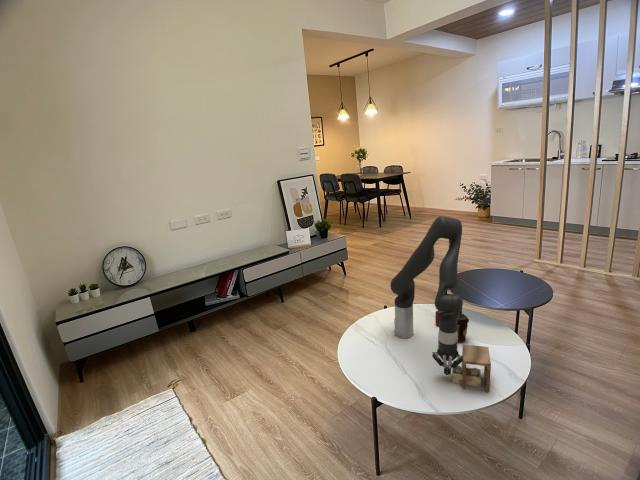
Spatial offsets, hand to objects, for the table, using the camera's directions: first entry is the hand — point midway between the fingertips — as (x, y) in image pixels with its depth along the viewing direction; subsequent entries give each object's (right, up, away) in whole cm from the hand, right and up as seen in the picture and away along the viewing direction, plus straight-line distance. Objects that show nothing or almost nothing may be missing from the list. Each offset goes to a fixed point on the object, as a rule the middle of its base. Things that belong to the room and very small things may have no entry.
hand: (447, 374), depth 151 cm
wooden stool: (+11, -2, -3) cm, 11 cm away
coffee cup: (+16, +7, +27) cm, 32 cm away
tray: (+7, -2, -2) cm, 8 cm away
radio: (+16, +12, +43) cm, 47 cm away
